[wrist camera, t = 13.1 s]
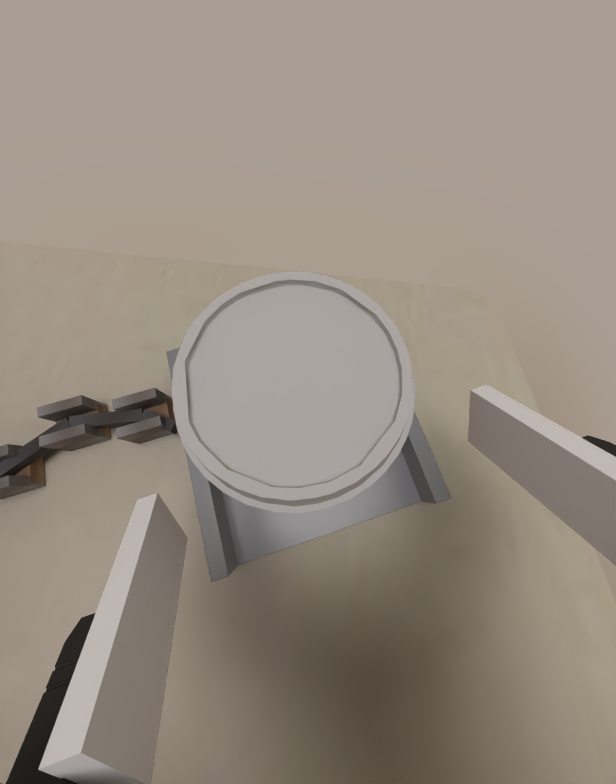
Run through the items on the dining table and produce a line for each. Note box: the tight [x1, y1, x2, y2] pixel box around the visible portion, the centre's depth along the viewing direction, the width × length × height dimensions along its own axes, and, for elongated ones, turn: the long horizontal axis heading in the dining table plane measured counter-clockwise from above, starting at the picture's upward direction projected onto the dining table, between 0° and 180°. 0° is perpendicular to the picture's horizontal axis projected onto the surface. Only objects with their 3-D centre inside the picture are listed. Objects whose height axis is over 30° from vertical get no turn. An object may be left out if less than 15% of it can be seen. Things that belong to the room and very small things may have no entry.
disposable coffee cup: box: [172, 272, 415, 513], centre depth 16 cm, size 10×10×12 cm
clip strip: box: [0, 388, 178, 499], centre depth 22 cm, size 16×5×3 cm, turn 107°
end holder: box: [167, 348, 451, 582], centre depth 22 cm, size 15×15×4 cm
